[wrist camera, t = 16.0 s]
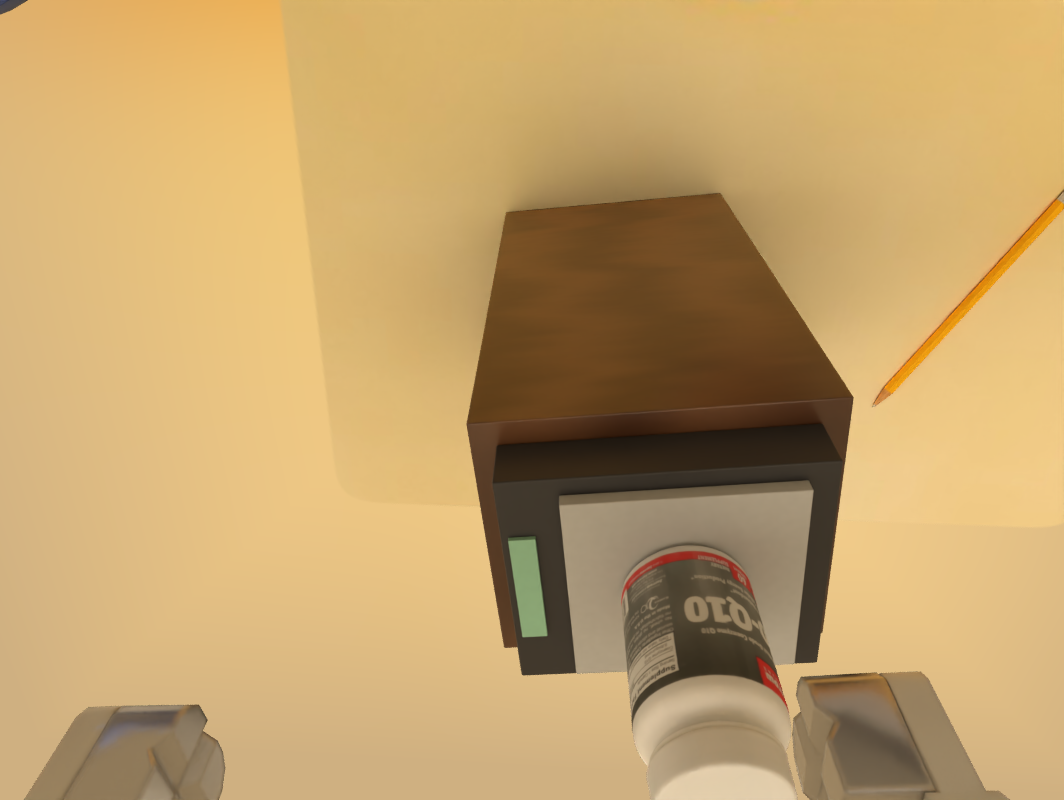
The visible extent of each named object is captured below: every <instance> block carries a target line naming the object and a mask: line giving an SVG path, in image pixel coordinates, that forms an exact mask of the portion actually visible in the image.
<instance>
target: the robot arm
mask: <svg viewBox="0 0 1064 800" xmlns="http://www.w3.org/2000/svg"><path fill="white" fill-rule="evenodd" d="M796 696H797V700H798V703H799V706H800V710H801V712H800V713H799V714H798V715H797V716H795V717H794V720H793V734H792V736H793V748H794V758H795V763H796V767H797V772H798V776H799V780H800V783H801V787H802V791H803V793H804V794H805V795H806V796H807V797H808V798H809V799H810V800H1010V799H1008V798H1007V797H1006V796H1005V795H1003V794H1002V793H1001V792H1000V791H986V790H985V788H984V786H983V784H982V782H981V780H980V778H979V776H978V775H977V773H976V771H975V769H974V767H973V765H972V763H971V761H970V759H969V757H968V755H967V753H966V751H965V749H964V747H963V745H962V744H961V741H960V739H959V737H958V736H957V734H956V732H955V730H954V728H953V726H952V724H951V722H950V720H949V718H948V716H947V714H946V712H945V710H944V708H943V706H942V704H941V702H940V700H939V699H938V697H937V695H936V693H935V691H934V689H933V687H932V685H931V683H930V681H929V679H928V678H927V677H926V676H925V675H924V674H922V673H921V672H898V673H880V674H878V673H859V674H842V675H824V676H808V677H801V678H800V680H799V681H798V685H797V693H796ZM206 722H207V718H206V716H205V714H204V713H203V711H202V709H201V707H200V706H199V705H148V706H105V707H88V708H87V709H85V710H84V711H83V712H82V713H80V714H79V715H78V716H77V717H76V718H75V719H74V721H73V723H72V724H71V726H70V728H69V729H68V731H67V732H66V734H65V735H64V737H63V739H62V740H61V742H60V743H59V745H58V747H57V748H56V750H55V751H54V753H53V754H52V756H51V758H50V759H49V761H48V763H47V764H46V766H45V767H44V769H43V770H42V772H41V774H40V775H39V777H38V778H37V780H36V781H35V783H34V785H33V786H32V788H31V789H30V791H29V793H28V794H27V796H26V797H25V799H24V800H219V798H220V795H221V792H222V788H223V781H224V773H225V763H224V756H223V751H222V749H221V747H220V745H219V743H218V741H217V740H216V739H214V738H213V737H211V736H210V735H208V734H206V733H205V732H203V729H204V727H205V725H206Z"/></svg>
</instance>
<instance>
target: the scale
mask: <svg viewBox="0 0 1064 800" xmlns="http://www.w3.org/2000/svg"><path fill="white" fill-rule="evenodd" d="M842 467H843V460H842V458H841V456H840V454H839V453H838V451H837V449H836V447H835V445H834V443H833V442H832V440H831V438H830V436H829V434H828V433H827V431H826V429H825V427H824V425H823V424H807V425H792V426H777V427H763V428H748V429H733V430H718V431H703V432H688V433H673V434H658V435H643V436H628V437H613V438H598V439H583V440H568V441H553V442H538V443H523V444H508V445H497V447H496V455H495V463H494V471H493V480H492V486H493V493H494V499H495V506H496V512H497V518H498V525H499V531H500V538H501V544H502V551H503V557H504V563H505V570H506V576H507V583H508V589H509V595H510V602H511V608H512V615H513V621H514V628H515V634H516V640H517V647H518V653H519V660H520V666H521V672H522V675H543V674H564V673H565V674H566V673H577V674H580V673H603V672H625V671H627V662H626V651H625V640H624V629H623V618H622V606H621V593H622V588H623V585H624V582H625V580H626V578H627V576H628V575H629V573H630V572H631V571H632V570H633V568H634V567H635V566H637V565H638V564H639V563H640V562H641V561H643V560H644V559H646V558H647V557H649V556H651V555H653V554H655V553H657V552H659V551H662V550H664V549H668V548H671V547H676V546H685V545H695V546H704V547H709V548H713V549H716V550H718V551H721V552H723V553H725V554H726V555H728V556H730V557H731V558H732V559H734V560H735V561H736V562H737V563H738V564H739V565H740V566H741V567H742V568H743V570H744V571H745V572H746V574H747V576H748V578H749V581H750V583H751V586H752V589H753V593H754V596H755V600H756V603H757V607H758V611H759V614H760V617H761V621H762V624H763V628H764V631H765V634H766V638H767V640H768V644H769V647H770V652H771V654H772V658H773V661H774V664H775V665H781V664H794V663H813V662H817V657H818V650H819V642H820V634H821V627H822V619H823V612H824V604H825V596H826V589H827V581H828V573H829V566H830V558H831V551H832V543H833V535H834V528H835V520H836V512H837V505H838V497H839V490H840V482H841V474H842Z"/></svg>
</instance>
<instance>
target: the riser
mask: <svg viewBox="0 0 1064 800" xmlns="http://www.w3.org/2000/svg"><path fill="white" fill-rule="evenodd" d="M852 405H853V396H852V394H851V393H850V391H849V390H848V388H847V387H846V385H845V383H844V382H843V380H842V379H841V377H840V376H839V374H838V373H837V371H836V370H835V368H834V367H833V365H832V364H831V362H830V361H829V359H828V357H827V356H826V354H825V353H824V351H823V350H822V348H821V347H820V345H819V344H818V342H817V341H816V339H815V338H814V336H813V334H812V333H811V331H810V330H809V328H808V327H807V325H806V324H805V322H804V321H803V319H802V318H801V316H800V315H799V313H798V311H797V310H796V308H795V307H794V305H793V304H792V302H791V301H790V299H789V298H788V296H787V295H786V293H785V292H784V290H783V289H782V287H781V285H780V284H779V282H778V281H777V279H776V278H775V276H774V275H773V273H772V272H771V270H770V269H769V267H768V266H767V264H766V262H765V261H764V259H763V258H762V256H761V255H760V253H759V252H758V250H757V249H756V247H755V246H754V244H753V243H752V241H751V239H750V238H749V236H748V235H747V233H746V232H745V230H744V229H743V227H742V226H741V224H740V223H739V221H738V220H737V218H736V217H735V215H734V213H733V212H732V210H731V209H730V207H729V206H728V204H727V203H726V201H725V200H724V198H723V197H722V195H721V194H720V193H717V194H706V195H695V196H684V197H673V198H661V199H650V200H639V201H628V202H617V203H605V204H594V205H583V206H572V207H561V208H550V209H538V210H527V211H516V212H507V213H506V216H505V222H504V227H503V232H502V238H501V243H500V248H499V254H498V259H497V264H496V270H495V275H494V281H493V286H492V291H491V297H490V302H489V307H488V313H487V318H486V323H485V329H484V334H483V339H482V345H481V350H480V355H479V361H478V366H477V371H476V377H475V382H474V387H473V393H472V398H471V404H470V409H469V414H468V420H467V430H468V436H469V442H470V448H471V454H472V459H473V465H474V471H475V477H476V483H477V489H478V495H479V501H480V507H481V513H482V519H483V524H484V530H485V537H486V542H487V548H488V554H489V560H490V566H491V572H492V578H493V584H494V590H495V595H496V602H497V608H498V614H499V619H500V625H501V631H502V637H503V643H504V647H505V648H511V647H517V640H516V634H515V628H514V621H513V615H512V608H511V602H510V595H509V589H508V583H507V576H506V570H505V563H504V557H503V551H502V544H501V538H500V531H499V525H498V518H497V512H496V506H495V499H494V493H493V486H492V480H493V471H494V463H495V455H496V447H497V445H508V444H523V443H538V442H553V441H568V440H583V439H598V438H613V437H628V436H643V435H658V434H673V433H688V432H703V431H718V430H733V429H748V428H763V427H777V426H792V425H807V424H823V425H824V427H825V429H826V431H827V433H828V434H829V436H830V438H831V440H832V442H833V443H834V445H835V447H836V449H837V451H838V453H839V454H840V456H841V458H842V460H843V467H842V474H841V482H840V490H839V497H838V505H837V512H836V520H835V528H834V535H833V543H832V551H831V558H830V566H829V573H828V581H827V589H826V596H825V604H824V612H823V619H822V627H821V633H822V631H823V623H824V616H825V609H826V601H827V594H828V586H829V579H830V571H831V564H832V556H833V548H834V541H835V533H836V526H837V518H838V511H839V503H840V496H841V488H842V481H843V473H844V466H845V458H846V451H847V443H848V435H849V428H850V420H851V413H852Z"/></svg>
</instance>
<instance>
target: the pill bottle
mask: <svg viewBox="0 0 1064 800" xmlns="http://www.w3.org/2000/svg"><path fill="white" fill-rule="evenodd" d="M621 606H622V618H623V629H624V640H625V651H626V662H627V672H628V682H629V694H630V706H631V717H632V731H633V737H634V742H635V746H636V749H637V751H638V753H639V755H640V757H641V758H642V760H643V761H644V763H645V764H646V765H647V766H648V769H647V783H648V787H649V793H650V800H797V793H796V789H795V785H794V781H793V777H792V773H791V770H790V767H789V763H788V757H787V753H786V750H787V747H788V745H789V742H790V737H791V723H790V717H789V711H788V707H787V704H786V701H785V698H784V695H783V691H782V687H781V684H780V681H779V678H778V675H777V671H776V668H775V664H774V661H773V658H772V654H771V652H770V647H769V644H768V640H767V638H766V634H765V631H764V628H763V624H762V621H761V617H760V614H759V611H758V607H757V603H756V600H755V596H754V593H753V589H752V586H751V583H750V581H749V578H748V576H747V574H746V572H745V571H744V570H743V568H742V567H741V566H740V565H739V564H738V563H737V562H736V561H735V560H734V559H732V558H731V557H730V556H728V555H726V554H725V553H723V552H721V551H718V550H716V549H713V548H709V547H704V546H695V545H685V546H676V547H671V548H668V549H664V550H662V551H659V552H657V553H655V554H653V555H651V556H649V557H647V558H646V559H644V560H643V561H641V562H640V563H639V564H638V565H637V566H635V567H634V568H633V570H632V571H631V572H630V573H629V575H628V576H627V578H626V580H625V582H624V585H623V588H622V593H621Z"/></svg>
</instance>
